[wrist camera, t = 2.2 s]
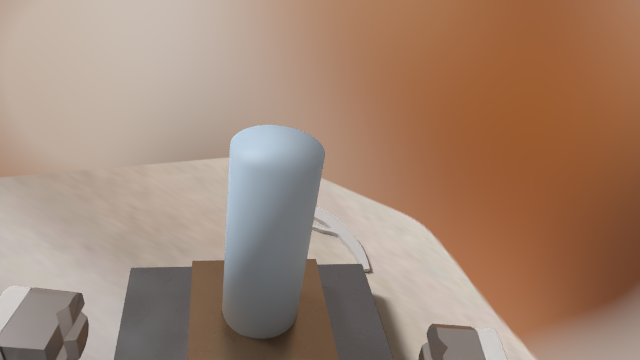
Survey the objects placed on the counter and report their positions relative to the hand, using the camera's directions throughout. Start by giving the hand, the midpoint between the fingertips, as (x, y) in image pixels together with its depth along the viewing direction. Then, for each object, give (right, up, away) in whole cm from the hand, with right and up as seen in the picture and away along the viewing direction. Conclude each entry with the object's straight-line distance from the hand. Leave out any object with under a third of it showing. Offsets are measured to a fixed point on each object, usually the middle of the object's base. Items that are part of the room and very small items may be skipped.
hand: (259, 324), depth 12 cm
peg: (-2, -4, +18) cm, 18 cm away
